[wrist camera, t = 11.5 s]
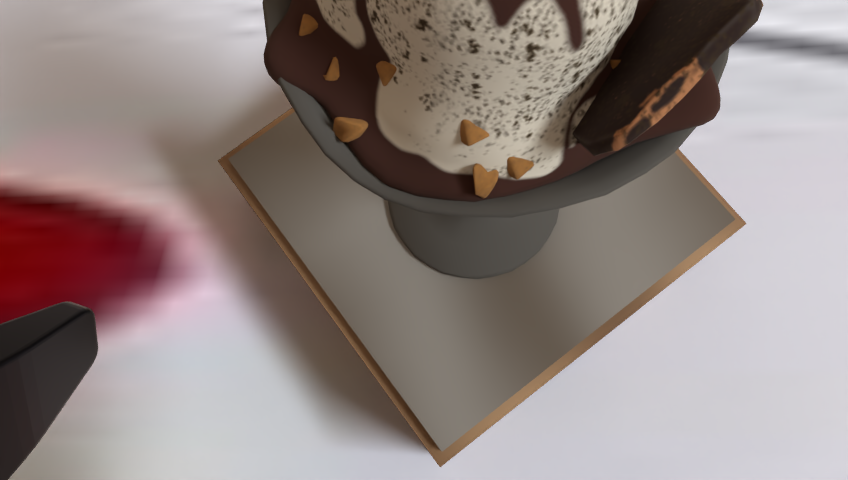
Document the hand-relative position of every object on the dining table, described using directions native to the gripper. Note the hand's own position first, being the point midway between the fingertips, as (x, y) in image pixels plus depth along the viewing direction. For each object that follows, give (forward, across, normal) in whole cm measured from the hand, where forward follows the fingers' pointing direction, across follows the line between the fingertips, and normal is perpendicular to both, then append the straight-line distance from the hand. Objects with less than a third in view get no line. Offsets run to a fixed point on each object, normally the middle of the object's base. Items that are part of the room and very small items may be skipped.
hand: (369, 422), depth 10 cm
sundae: (+11, 0, +2) cm, 11 cm away
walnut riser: (+13, 0, +4) cm, 14 cm away
